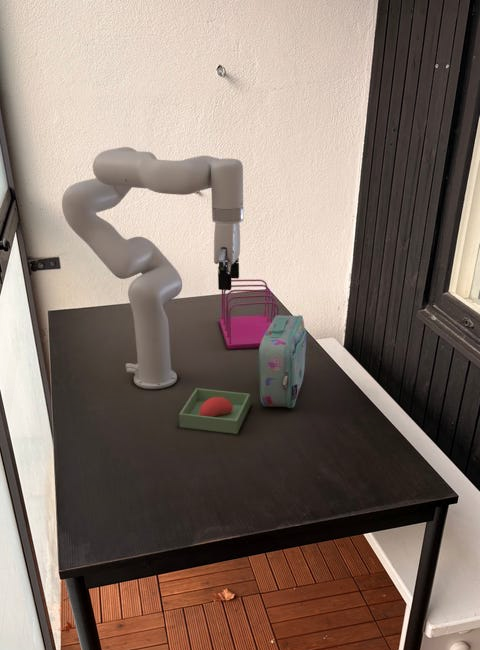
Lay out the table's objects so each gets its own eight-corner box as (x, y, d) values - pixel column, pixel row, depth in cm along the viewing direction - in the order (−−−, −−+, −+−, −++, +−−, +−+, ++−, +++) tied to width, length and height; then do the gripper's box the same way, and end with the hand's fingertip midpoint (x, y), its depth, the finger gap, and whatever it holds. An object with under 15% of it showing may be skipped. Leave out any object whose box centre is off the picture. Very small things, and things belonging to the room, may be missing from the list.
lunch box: (294, 418, 170) (298, 342, 160) (256, 414, 172) (257, 339, 162) (306, 375, 193) (309, 306, 182) (272, 372, 195) (273, 304, 184)
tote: (179, 427, 166) (179, 414, 165) (196, 400, 179) (196, 388, 177) (237, 434, 163) (237, 420, 161) (250, 406, 176) (250, 393, 174)
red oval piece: (198, 415, 174) (192, 402, 169) (228, 399, 175) (222, 386, 169) (206, 429, 171) (200, 416, 166) (236, 413, 172) (231, 399, 167)
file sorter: (267, 319, 233) (268, 277, 225) (280, 346, 212) (281, 300, 204) (219, 322, 231) (218, 279, 223) (227, 349, 210) (227, 303, 202)
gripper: (220, 206, 164) (222, 273, 172) (203, 221, 149) (206, 293, 158) (249, 207, 163) (249, 274, 171) (235, 222, 148) (236, 295, 156)
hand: (229, 283), depth 164 cm, fingers open, 9 cm apart
